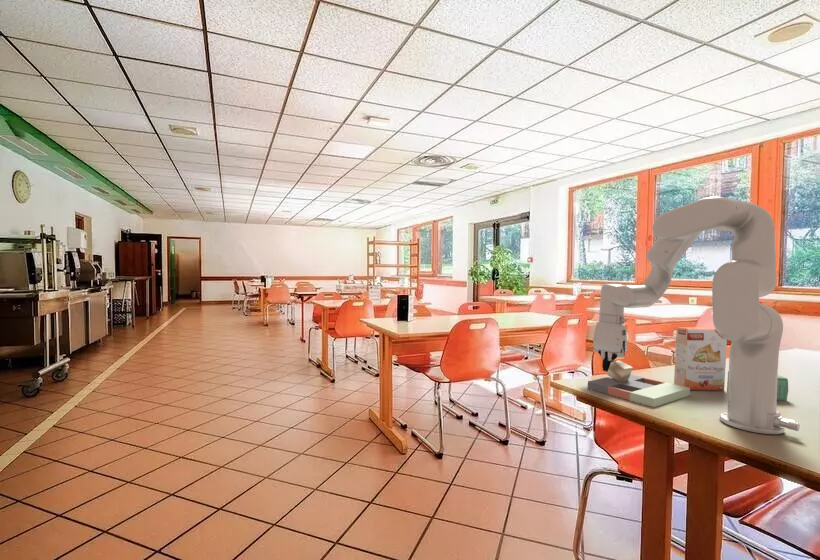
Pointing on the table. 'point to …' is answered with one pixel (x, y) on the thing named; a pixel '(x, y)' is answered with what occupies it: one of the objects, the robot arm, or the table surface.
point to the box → (778, 387)
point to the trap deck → (640, 390)
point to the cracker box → (700, 358)
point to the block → (619, 371)
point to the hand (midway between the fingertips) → (607, 370)
